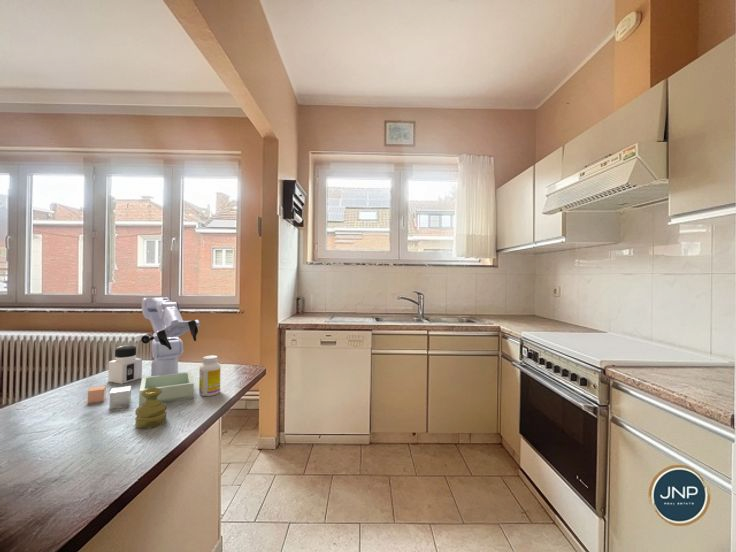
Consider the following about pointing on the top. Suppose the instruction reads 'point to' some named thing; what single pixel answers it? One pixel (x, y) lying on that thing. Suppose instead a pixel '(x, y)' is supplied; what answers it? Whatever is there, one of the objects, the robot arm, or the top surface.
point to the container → (125, 365)
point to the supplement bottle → (209, 376)
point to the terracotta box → (96, 394)
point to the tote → (169, 387)
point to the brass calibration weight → (151, 410)
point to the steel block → (120, 397)
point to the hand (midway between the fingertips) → (182, 342)
